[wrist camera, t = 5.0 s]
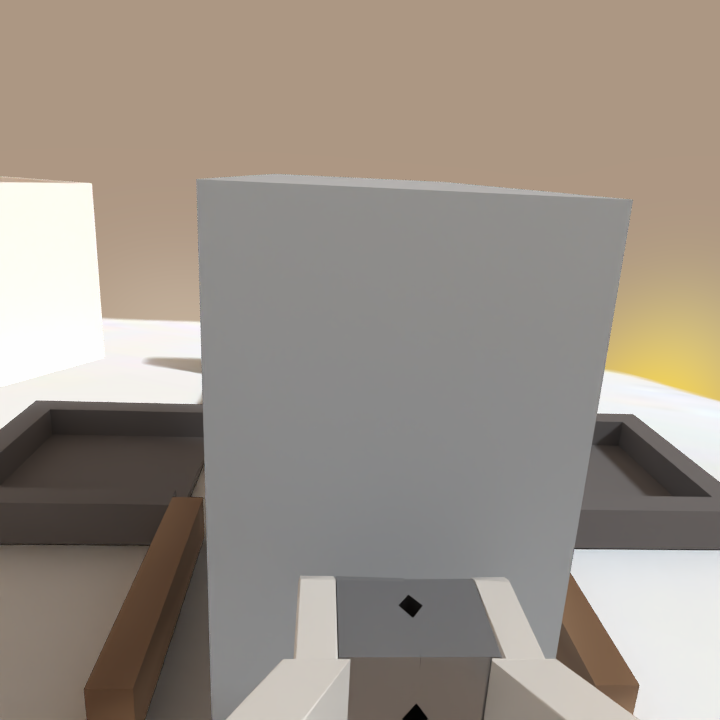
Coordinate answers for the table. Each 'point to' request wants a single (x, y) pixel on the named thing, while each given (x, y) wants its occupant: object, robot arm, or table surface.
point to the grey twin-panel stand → (47, 278)
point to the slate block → (394, 392)
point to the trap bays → (186, 458)
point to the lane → (167, 592)
